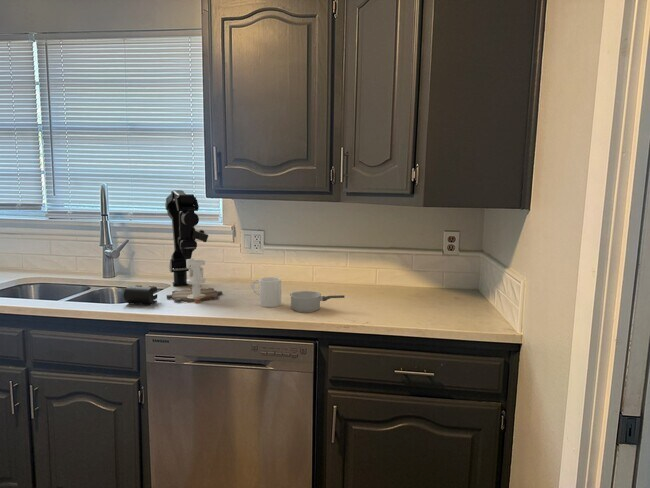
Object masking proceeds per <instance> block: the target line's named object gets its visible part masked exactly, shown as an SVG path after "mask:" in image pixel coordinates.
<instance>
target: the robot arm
mask: <svg viewBox="0 0 650 488" xmlns="http://www.w3.org/2000/svg"><path fill="white" fill-rule="evenodd" d="M184 191H185V190H182V189H180V190H176V189H174V190H171V193H170V194H169V195H168V196H167V197H166V198H165V203H164V204H165V206H164V207H165V210H166V211H167V215H168V217H169V218H170V220H171V227H172V240H173V249H174V251H173V253H172V255H170V256H171V257H170V260H169V266H168V267H169V272H170V273H173V282H172V286H173V287H178V286H180V287H181V286H189V284H187V279H188V275H187V274H188V273H187V272H189V269H187V266H186V259H192V255H193V252H194V251H196V249H197V247H198V242H197V241H196V240H198V241H201V242H203V243H207V241H208V238H209V234H207V233H206V232H205V231H204V230H203V229H200V230H196V228H195V226H197V225H198V223H199V222H200V217H199V216H198V214H197V213H195V212H198V211H199V209H200V208H199V207H200V206H199V202H198V200H197V197H196V196H195V194H192V193H186V192H184ZM190 267H192V266H190ZM190 269H192V268H190Z"/></svg>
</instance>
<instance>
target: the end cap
mask: <svg viewBox="0 0 650 488" xmlns="http://www.w3.org/2000/svg"><path fill="white" fill-rule="evenodd" d="M157 292H158V288H157V286H154V285H153V286H152V285H149V286H142V285H134V286H133V285H131V286H130V285H128V286H126V287H125V288H124V290H123V299H124V302H126V303H127V304H130V303H134V304H133V305H146V304H147V305H146V306H148V305H151V304H152V305H154V304H156V303H158V301H157V299H158V294H154V293H157ZM130 305H131V304H130ZM152 305H151V306H152Z"/></svg>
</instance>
